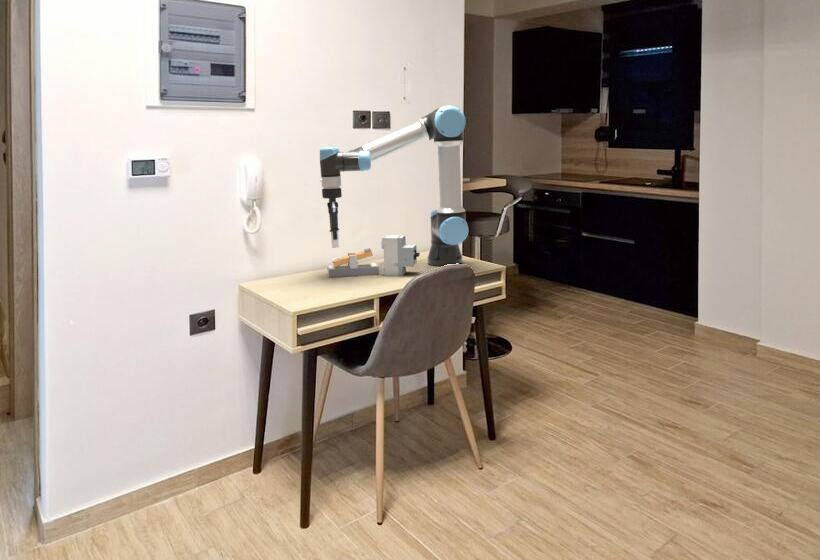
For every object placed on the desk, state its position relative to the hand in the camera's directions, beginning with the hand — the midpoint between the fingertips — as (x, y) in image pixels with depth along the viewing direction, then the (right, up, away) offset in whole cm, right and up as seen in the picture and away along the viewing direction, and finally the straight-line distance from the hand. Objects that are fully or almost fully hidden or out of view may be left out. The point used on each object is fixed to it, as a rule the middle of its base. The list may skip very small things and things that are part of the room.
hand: (335, 247), depth 256 cm
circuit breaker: (+26, -11, +3) cm, 28 cm away
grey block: (+7, -11, +4) cm, 13 cm away
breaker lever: (+7, -5, +3) cm, 9 cm away
